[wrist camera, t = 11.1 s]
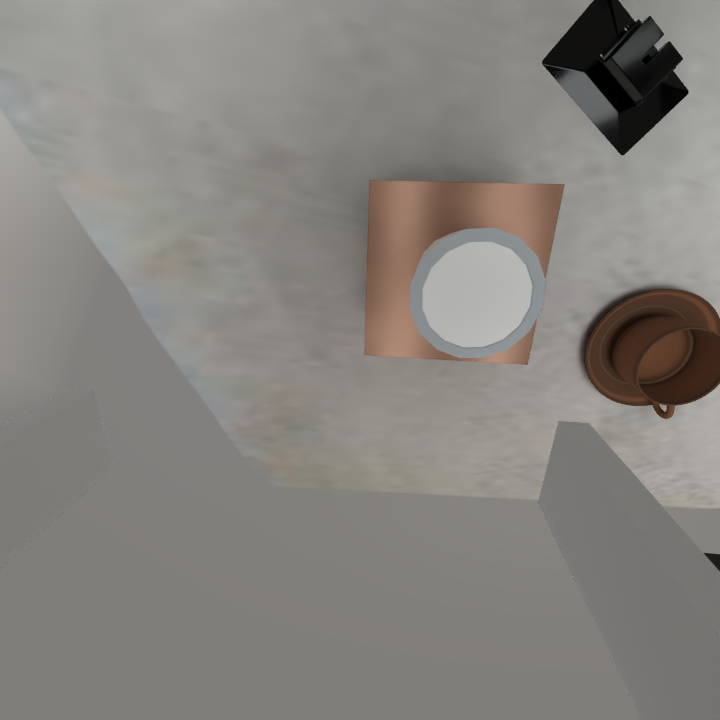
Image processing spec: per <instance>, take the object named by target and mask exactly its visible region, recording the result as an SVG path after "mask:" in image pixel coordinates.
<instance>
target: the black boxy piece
mask: <svg viewBox="0 0 720 720" xmlns="http://www.w3.org/2000/svg"><path fill="white" fill-rule="evenodd" d="M663 35H664V33H663V32H662V31H661V29H660V28H659V27H658V25H657V24H656V23H655V21H654V20H653V19H652V18H651V16H649V17H648V18H646V19H645V20H644V21H642V22H641V21H640V20H639V19H638V20H637V21H636V22H635V21H634V20H633V19H632V17H631V16H630V15H629V13H628V12H627V11H626V10H625V8H624V7H623V6H622V4H621V3H620V2H619V1H618V0H594V1H593V2H592V3H591V4H590V5H589V7H588V8H587V9H586V10H585V11H584V13H583V14H582V15H581V16H580V17H579V18H578V20H577V21H576V22H575V23H574V24H573V25H572V27H571V28H570V29H569V30H568V31H567V32H566V34H565V35H564V36H563V37H562V38H561V40H560V41H559V42H558V43H557V44H556V45H555V47H554V48H553V49H552V50H551V51H550V52H549V54H548V55H547V56H546V57H545V58H544V59H543V61H542V64H543V65H544V67H545V68H546V69H547V70H548V71H549V72H550V74H551V75H552V76H553V77H554V78H555V79H556V80H557V82H558V83H559V84H560V85H561V86H562V87H563V89H564V90H565V91H566V92H567V93H568V94H569V95H570V97H571V98H572V99H573V100H574V101H575V102H576V103H577V105H578V106H579V107H580V108H581V109H582V110H583V112H584V113H585V114H586V115H587V116H588V117H589V118H590V120H591V121H592V122H593V123H594V124H595V125H596V127H597V128H598V129H599V130H600V131H601V132H602V133H603V135H604V136H605V137H606V138H607V139H608V140H609V142H610V143H611V144H612V145H613V146H614V147H615V148H616V150H617V151H618V152H619V153H620V154H621V155H624V154H625V153H626V152H628V151H629V150H630V149H631V148H632V147H633V146H634V145H635V144H636V143H637V142H638V141H639V140H640V139H641V138H642V137H643V136H644V135H645V134H646V133H648V132H649V131H650V130H651V129H652V128H653V127H654V126H655V125H656V124H657V123H658V122H659V121H660V120H661V119H662V118H663V117H664V116H665V115H666V114H667V113H669V112H670V111H671V110H672V109H673V108H674V107H675V106H676V105H677V104H678V103H679V102H680V101H681V100H682V99H683V98H684V97H685V96H686V95H687V94H688V89H687V88H686V87H685V86H684V84H683V83H682V82H681V80H680V79H679V78H678V77H677V75H676V74H675V73H674V71H673V70H674V69H675V68H676V66H677V65H678V64H679V63H680V62H681V61H682V60H683V58H682V56H681V55H680V54H679V53H678V51H677V50H676V49H675V47H674V46H673V45H672V43H671V42H670V41H669V42H667V43H665V44H664V45H663V46H662V47H661V48H660V49H659V50H657V49H656V48H655V46H654V45H655V44H656V42H657V41H658V40H659V39H660V38H661V37H662V36H663Z"/></svg>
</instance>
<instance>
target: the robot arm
mask: <svg viewBox="0 0 720 720" xmlns="http://www.w3.org/2000/svg"><path fill="white" fill-rule="evenodd" d="M113 467H114V464H113V460H112V456H111V452H110V448H109V445H108V441H107V437H106V433H105V429H104V425H103V421H102V418H101V414H100V410H99V406H98V402H97V398H96V395H95V391H94V389H87V388H73V387H69V388H67V389H66V390H64V391H62V392H60V393H58V394H56V395H54V396H53V397H51V398H49V399H47V400H45V401H44V402H42V403H40V404H38V405H36V406H34V407H32V408H31V409H29V410H27V411H25V412H23V413H22V414H20V415H18V416H16V417H14V418H12V419H10V420H8V421H7V422H5V423H3V424H1V425H0V570H1V569H2V568H3V567H4V566H5V565H6V564H7V563H8V562H9V561H11V560H12V559H13V558H14V557H15V556H16V555H17V554H18V553H19V552H21V551H22V550H23V549H24V548H25V547H26V546H27V545H28V544H29V543H31V542H32V541H33V540H34V539H35V538H36V537H37V536H38V535H39V534H40V533H41V532H43V531H44V530H45V529H46V528H47V527H48V526H49V525H50V524H51V523H53V522H54V521H55V520H56V519H57V518H58V517H59V516H60V515H61V514H63V513H64V511H66V510H67V509H68V508H69V507H70V506H71V505H72V504H74V503H75V502H76V501H77V500H78V499H79V498H80V497H81V496H82V495H83V494H85V493H86V492H87V491H88V490H89V489H90V488H91V487H92V486H93V485H94V484H96V482H98V481H99V480H100V479H101V478H102V477H103V476H104V475H106V474H107V473H108V472H109V471H110V470H111V469H112V468H113ZM538 504H539V506H540V508H541V510H542V512H543V515H544V516H545V519H546V521H547V523H548V525H549V527H550V529H551V532H552V534H553V536H554V538H555V540H556V542H557V544H558V546H559V548H560V551H561V553H562V555H563V557H564V559H565V561H566V563H567V565H568V568H569V570H570V572H571V574H572V576H573V578H574V580H575V582H576V585H577V587H578V589H579V591H580V593H581V595H582V597H583V599H584V602H585V604H586V606H587V608H588V610H589V612H590V614H591V616H592V619H593V621H594V622H595V625H596V627H597V629H598V631H599V633H600V636H601V637H602V640H603V642H604V644H605V646H606V648H607V650H608V653H609V654H610V657H611V659H612V661H613V663H614V665H615V667H616V669H617V672H618V674H619V676H620V678H621V680H622V682H623V684H624V686H625V689H626V690H627V693H628V695H629V697H630V699H631V701H632V703H633V706H634V708H635V710H636V712H637V714H638V716H639V718H640V720H720V554H709V553H703V552H702V551H701V550H700V549H699V548H698V546H696V544H695V543H694V542H693V541H692V540H691V538H690V537H689V536H688V535H687V534H686V533H685V532H684V531H683V529H682V528H681V527H680V526H679V525H678V524H677V523H676V522H675V520H674V519H673V518H672V517H671V516H670V515H669V514H668V512H667V511H666V510H665V509H664V508H663V507H662V506H661V504H660V503H659V502H658V501H657V500H656V499H655V498H654V497H653V495H652V494H651V493H650V492H649V491H648V490H647V489H646V487H645V486H644V485H643V484H642V483H641V482H640V481H639V480H638V478H637V477H636V476H635V475H634V474H633V473H632V472H631V470H630V469H629V468H628V467H627V466H626V465H625V464H624V463H623V461H622V460H621V459H620V458H619V457H618V456H617V455H616V453H615V452H614V451H613V450H612V449H611V448H610V447H609V446H608V444H607V443H606V442H605V441H604V440H603V439H602V438H601V436H600V435H599V434H598V433H597V432H596V431H595V430H594V429H593V427H592V426H591V425H590V424H589V423H579V422H564V421H559V422H558V426H557V430H556V434H555V438H554V442H553V446H552V450H551V454H550V458H549V461H548V465H547V469H546V473H545V477H544V481H543V485H542V489H541V493H540V497H539V501H538Z"/></svg>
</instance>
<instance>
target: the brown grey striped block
mask: <svg viewBox="0 0 720 720" xmlns="http://www.w3.org/2000/svg"><path fill="white" fill-rule="evenodd" d="M564 185H565V184H523V183H477V182H432V181H386V180H370V191H369V223H368V254H367V285H366V317H365V348H364V355H370V356H387V357H405V358H422V359H439V360H456V361H473V362H490V363H508V364H525V365H528V360H529V355H530V350H531V346H532V341H533V336H534V331H535V326H536V321H537V319H536V321H535V323H534V324H533V326H532V328H531V330H530V332H528V333H527V334H526V335H525V336H524V337H522V338H521V339H520V340H519V341H518V342H517V343H515V344H514V345H513V346H512V347H511V348H509V349H507V350H504V351H502V352H499V353H496V354H494V355H491V356H488V357H486V358H458V357H455V356H453V355H450V354H447V353H445V352H442V351H439V350H437V349H436V348H435V347H434V346H433V345H432V344H431V343H429V342H428V341H427V340H426V339H425V338H424V337H423V336H422V335H421V334H420V333H419V330H418V328H417V326H416V324H415V321H414V319H413V317H412V314H411V312H410V286H411V283H412V280H413V277H414V274H415V272H416V269H417V266H418V264H419V261H420V259H421V257H422V254H423V253H424V252H425V250H426V249H427V248H428V247H429V246H430V245H431V244H432V243H433V242H434V241H435V240H437V239H440V238H442V237H444V236H446V235H448V234H450V233H454V232H457V231H461V230H464V229H477V228H497V229H499V230H502V231H504V232H507V233H510V234H512V235H515V236H517V237H520V238H521V239H522V240H523V241H524V242H525V243H526V244H527V245H528V247H529V248H530V249H531V250H532V251H533V252H534V253H535V254H536V255H537V256H538V258H539V261H540V264H541V267H542V271H543V274H544V277H546V272H547V268H548V263H549V258H550V253H551V248H552V243H553V238H554V233H555V229H556V224H557V219H558V214H559V209H560V204H561V199H562V194H563V190H564Z"/></svg>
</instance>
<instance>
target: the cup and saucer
mask: <svg viewBox="0 0 720 720" xmlns="http://www.w3.org/2000/svg"><path fill="white" fill-rule="evenodd" d="M585 364H586V370H587V373H588V376H589V378H590V380H591V382H592V384H593V385H594V386H595V388H596V389H597V390H598V391H599V392H600V393H601V394H602V395H604V396H605V397H607V398H609V399H610V400H612V401H615V402H617V403H621V404H625V405H632V406H647V405H653V408H654V410H655V411H656V413H657V414H658V415H659V416H660V417H662V418H664V419H668V418H671V417H672V416H673V414H674V408H675V405H683V404H687V403H691V402H693V401H696V400H698V399H700V398H702V397H704V396H706V395H707V394H709V393H710V392H711V391H713V390H714V389H715V388H716V387H717V386H718V385H719V384H720V318H719V316H718V314H717V312H716V310H715V309H714V308H713V307H712V305H711V304H710V303H709V302H707V301H706V300H705V299H703V298H702V297H700V296H698V295H696V294H693V293H691V292H687V291H682V290H675V289H662V290H654V291H648V292H645V293H641V294H638V295H636V296H633V297H631V298H629V299H627V300H625V301H623V302H622V303H620V304H619V305H617V306H616V307H614V308H613V309H612V310H611V311H609V312H608V313H607V314H606V315H605V316H604V317H603V318H602V319H601V321H600V322H599V323H598V324H597V326H596V327H595V329H594V330H593V332H592V334H591V336H590V338H589V341H588V344H587V348H586V353H585ZM659 404H662V405H667V410H666V412H664V411H663V410H662V409H661V408H660V405H659Z"/></svg>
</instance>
